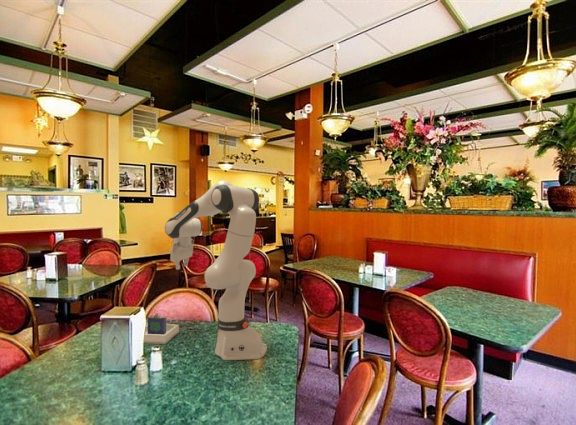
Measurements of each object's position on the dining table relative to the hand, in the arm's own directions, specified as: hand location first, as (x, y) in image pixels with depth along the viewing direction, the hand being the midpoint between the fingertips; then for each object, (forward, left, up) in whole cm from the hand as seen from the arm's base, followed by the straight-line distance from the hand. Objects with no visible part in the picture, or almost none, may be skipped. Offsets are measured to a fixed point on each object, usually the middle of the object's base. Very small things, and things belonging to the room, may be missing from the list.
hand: (181, 267), depth 168 cm
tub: (+5, +17, -31) cm, 36 cm away
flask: (+5, +17, -30) cm, 35 cm away
